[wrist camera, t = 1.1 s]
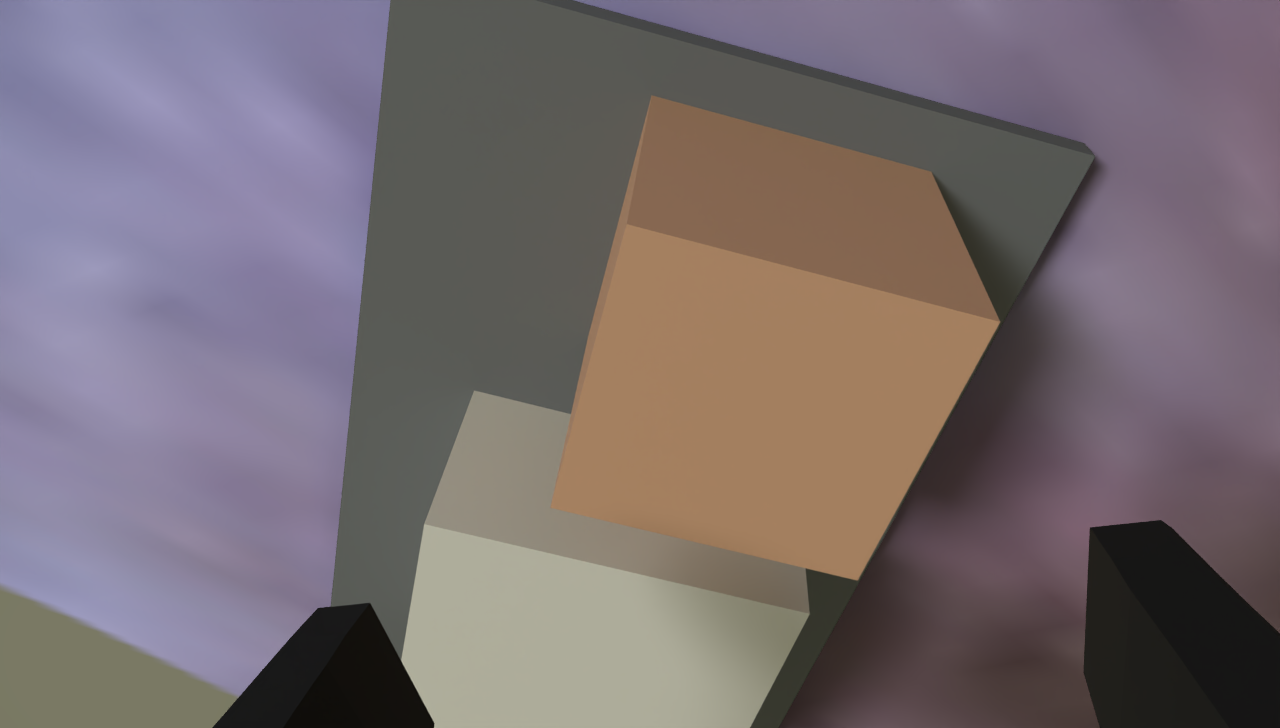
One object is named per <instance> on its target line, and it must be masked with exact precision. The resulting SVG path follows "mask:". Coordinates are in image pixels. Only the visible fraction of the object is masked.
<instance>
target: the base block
mask: <svg viewBox="0 0 1280 728" xmlns="http://www.w3.org/2000/svg"><path fill="white" fill-rule="evenodd" d="M570 416H571V414H568V413H564V412H560V411H556V410H552V409H548V408H544V407H540V406H536V405H532V404H527V403H523V402H519V401H515V400H511V399H507V398H503V397H499V396H495V395H491V394H487V393H483V392H478V391H474V392H473V395H472V398H471V400H470V403H469V406H468V408H467V411H466V414H465V416H464V419H463V422H462V424H461V427H460V430H459V432H458V435H457V438H456V440H455V443H454V446H453V448H452V451H451V454H450V456H449V459H448V462H447V464H446V467H445V470H444V472H443V475H442V478H441V481H440V483H439V486H438V489H437V491H436V494H435V497H434V499H433V502H432V505H431V507H430V510H429V513H428V515H427V518H426V521H425V523H424V528H423V534H422V540H421V546H420V552H419V558H418V564H417V570H416V576H415V582H414V587H413V593H412V599H411V605H410V611H409V617H408V623H407V629H406V635H405V641H404V647H403V653H402V658H401V661H402V663H403V665H404V667H405V669H406V671H407V673H408V675H409V676H410V678H411V680H412V682H413V684H414V686H415V688H416V690H417V691H418V693H419V695H420V697H421V699H422V701H423V703H424V705H425V706H426V708H427V710H428V712H429V714H430V716H431V718H432V720H433V721H434V728H750V727H751V725H752V723H753V721H754V719H755V717H756V715H757V713H758V711H759V710H760V708H761V706H762V704H763V702H764V700H765V698H766V696H767V694H768V692H769V691H770V689H771V687H772V685H773V683H774V681H775V679H776V677H777V675H778V673H779V672H780V670H781V668H782V666H783V664H784V662H785V660H786V658H787V656H788V654H789V653H790V651H791V649H792V647H793V645H794V643H795V641H796V639H797V637H798V635H799V634H800V632H801V630H802V628H803V626H804V624H805V622H806V620H807V618H808V616H809V614H810V611H809V601H808V590H807V580H806V569H805V568H802V567H798V566H794V565H790V564H786V563H781V562H777V561H773V560H769V559H764V558H760V557H756V556H752V555H748V554H743V553H739V552H735V551H731V550H726V549H722V548H718V547H714V546H710V545H705V544H701V543H697V542H693V541H688V540H684V539H680V538H676V537H672V536H667V535H663V534H659V533H655V532H650V531H646V530H642V529H638V528H634V527H629V526H625V525H621V524H617V523H612V522H608V521H604V520H600V519H596V518H591V517H587V516H583V515H579V514H574V513H570V512H566V511H562V510H558V509H553V508H550V507H551V502H552V498H553V493H554V489H555V484H556V480H557V475H558V470H559V466H560V461H561V457H562V452H563V448H564V443H565V439H566V434H567V430H568V425H569V421H570Z"/></svg>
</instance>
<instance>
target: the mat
mask: <svg viewBox="0 0 1280 728" xmlns="http://www.w3.org/2000/svg"><path fill="white" fill-rule="evenodd" d="M651 96H656V97H660V98H663V99H667V100H671V101H674V102H678V103H682V104H685V105H689V106H693V107H696V108H700V109H704V110H707V111H711V112H715V113H718V114H722V115H726V116H729V117H733V118H737V119H740V120H744V121H747V122H751V123H755V124H758V125H762V126H766V127H769V128H773V129H777V130H780V131H784V132H788V133H791V134H795V135H799V136H802V137H806V138H810V139H813V140H817V141H821V142H824V143H828V144H832V145H835V146H839V147H843V148H846V149H850V150H854V151H857V152H861V153H865V154H868V155H872V156H876V157H879V158H883V159H887V160H890V161H894V162H898V163H901V164H905V165H908V166H912V167H916V168H919V169H923V170H927V171H930V172H932V174H933V177H934V179H935V181H936V183H937V185H938V187H939V190H940V192H941V194H942V196H943V198H944V201H945V203H946V205H947V207H948V209H949V211H950V214H951V216H952V218H953V220H954V222H955V224H956V227H957V229H958V231H959V233H960V235H961V238H962V240H963V242H964V244H965V246H966V248H967V251H968V253H969V255H970V257H971V259H972V261H973V264H974V266H975V268H976V270H977V272H978V275H979V277H980V279H981V281H982V283H983V285H984V288H985V290H986V292H987V294H988V296H989V298H990V301H991V303H992V305H993V307H994V309H995V312H996V314H997V316H998V318H999V320H1000V323H999V325H998V327H997V329H996V331H995V332H994V334H993V336H992V338H991V340H990V342H989V343H988V345H987V347H986V349H985V351H984V352H983V354H982V356H981V358H980V360H979V361H978V363H977V365H976V367H975V369H974V371H973V372H972V374H971V376H970V378H969V380H968V381H967V383H966V385H965V387H964V389H963V390H962V392H961V394H960V396H959V398H958V400H957V401H956V403H955V405H954V407H953V409H952V410H951V412H950V414H949V416H948V418H947V419H946V421H945V423H944V425H943V427H942V429H941V430H940V432H939V434H938V436H937V438H936V439H935V441H934V443H933V445H932V447H931V448H930V450H929V452H928V454H927V456H926V458H925V459H924V461H923V463H922V465H921V467H920V468H919V470H918V472H917V474H916V476H915V477H914V479H913V481H912V483H911V485H910V487H909V488H908V490H907V492H906V494H905V496H904V497H903V499H902V501H901V503H900V505H899V506H898V508H897V510H896V512H895V514H894V515H893V517H892V519H891V521H890V523H889V525H888V526H887V528H886V530H885V532H884V534H883V535H882V537H881V539H880V541H879V543H878V544H877V546H876V548H875V550H874V552H873V554H872V555H871V557H870V559H869V561H868V563H867V564H866V566H865V568H864V570H863V572H862V573H861V575H860V577H859V579H858V581H857V580H853V579H849V578H845V577H840V576H836V575H832V574H828V573H824V572H819V571H815V570H811V569H807V568H805V569H806V580H807V590H808V601H809V611H810V614H809V616H808V618H807V620H806V622H805V624H804V626H803V628H802V630H801V632H800V634H799V635H798V637H797V639H796V641H795V643H794V645H793V647H792V649H791V651H790V653H789V654H788V656H787V658H786V660H785V662H784V664H783V666H782V668H781V670H780V672H779V673H778V675H777V677H776V679H775V681H774V683H773V685H772V687H771V689H770V691H769V692H768V694H767V696H766V698H765V700H764V702H763V704H762V706H761V708H760V710H759V711H758V713H757V715H756V717H755V719H754V721H753V723H752V725H751V727H750V728H779V726H780V724H781V722H782V721H783V719H784V717H785V715H786V713H787V712H788V710H789V708H790V706H791V704H792V703H793V701H794V699H795V697H796V695H797V694H798V692H799V690H800V688H801V686H802V685H803V683H804V681H805V679H806V677H807V676H808V674H809V672H810V670H811V668H812V666H813V665H814V663H815V661H816V659H817V657H818V656H819V654H820V652H821V650H822V648H823V647H824V645H825V643H826V641H827V639H828V638H829V636H830V634H831V632H832V630H833V629H834V627H835V625H836V623H837V621H838V620H839V618H840V616H841V614H842V612H843V611H844V609H845V607H846V605H847V603H848V602H849V600H850V598H851V596H852V594H853V593H854V591H855V589H856V587H857V585H858V583H859V582H860V580H861V578H862V576H863V574H864V573H865V571H866V569H867V567H868V565H869V564H870V562H871V560H872V558H873V556H874V555H875V553H876V551H877V549H878V547H879V546H880V544H881V542H882V540H883V538H884V537H885V535H886V533H887V531H888V529H889V528H890V526H891V524H892V522H893V520H894V519H895V517H896V515H897V513H898V511H899V509H900V508H901V506H902V504H903V502H904V500H905V499H906V497H907V495H908V493H909V491H910V490H911V488H912V486H913V484H914V482H915V481H916V479H917V477H918V475H919V473H920V472H921V470H922V468H923V466H924V464H925V463H926V461H927V459H928V457H929V455H930V454H931V452H932V450H933V448H934V446H935V445H936V443H937V441H938V439H939V437H940V436H941V434H942V432H943V430H944V428H945V426H946V425H947V423H948V421H949V419H950V417H951V416H952V414H953V412H954V410H955V408H956V407H957V405H958V403H959V401H960V399H961V398H962V396H963V394H964V392H965V390H966V389H967V387H968V385H969V383H970V381H971V380H972V378H973V376H974V374H975V372H976V371H977V369H978V367H979V365H980V363H981V362H982V360H983V358H984V356H985V354H986V352H987V351H988V349H989V347H990V345H991V343H992V342H993V340H994V338H995V336H996V334H997V333H998V331H999V329H1000V327H1001V325H1002V324H1003V322H1004V320H1005V318H1006V316H1007V315H1008V313H1009V311H1010V309H1011V307H1012V306H1013V304H1014V302H1015V300H1016V298H1017V297H1018V295H1019V293H1020V291H1021V289H1022V288H1023V286H1024V284H1025V282H1026V280H1027V278H1028V277H1029V275H1030V273H1031V271H1032V269H1033V268H1034V266H1035V264H1036V262H1037V260H1038V259H1039V257H1040V255H1041V253H1042V251H1043V250H1044V248H1045V246H1046V244H1047V242H1048V241H1049V239H1050V237H1051V235H1052V233H1053V232H1054V230H1055V228H1056V226H1057V224H1058V223H1059V221H1060V219H1061V217H1062V215H1063V214H1064V212H1065V210H1066V208H1067V206H1068V205H1069V203H1070V201H1071V199H1072V197H1073V195H1074V194H1075V192H1076V190H1077V188H1078V186H1079V185H1080V183H1081V181H1082V179H1083V177H1084V176H1085V174H1086V172H1087V170H1088V168H1089V167H1090V165H1091V163H1092V161H1093V159H1094V158H1095V155H1094V154H1093V153H1092V152H1091V151H1090V149H1089V148H1088V147H1087V146H1086V145H1085V144H1084V143H1081V142H1078V141H1074V140H1071V139H1067V138H1064V137H1060V136H1056V135H1053V134H1049V133H1046V132H1042V131H1039V130H1035V129H1031V128H1028V127H1024V126H1021V125H1017V124H1013V123H1010V122H1006V121H1003V120H999V119H996V118H992V117H988V116H985V115H981V114H978V113H974V112H970V111H967V110H963V109H960V108H956V107H953V106H949V105H945V104H942V103H938V102H935V101H931V100H928V99H924V98H920V97H917V96H913V95H910V94H906V93H902V92H899V91H895V90H892V89H888V88H885V87H881V86H877V85H874V84H870V83H867V82H863V81H860V80H856V79H852V78H849V77H845V76H842V75H838V74H834V73H831V72H827V71H824V70H820V69H817V68H813V67H809V66H806V65H802V64H799V63H795V62H792V61H788V60H784V59H781V58H777V57H774V56H770V55H766V54H763V53H759V52H756V51H752V50H749V49H745V48H741V47H738V46H734V45H731V44H727V43H724V42H720V41H716V40H713V39H709V38H706V37H702V36H698V35H695V34H691V33H688V32H684V31H681V30H677V29H673V28H670V27H666V26H663V25H659V24H656V23H652V22H648V21H645V20H641V19H638V18H634V17H630V16H627V15H623V14H620V13H616V12H613V11H609V10H605V9H602V8H598V7H595V6H591V5H588V4H584V3H580V2H577V1H573V0H391V1H390V11H389V21H388V32H387V42H386V52H385V62H384V72H383V82H382V92H381V103H380V113H379V123H378V133H377V143H376V153H375V163H374V173H373V184H372V194H371V204H370V214H369V224H368V234H367V244H366V255H365V265H364V275H363V285H362V295H361V305H360V315H359V325H358V336H357V346H356V356H355V366H354V376H353V386H352V396H351V407H350V417H349V427H348V437H347V447H346V457H345V467H344V477H343V488H342V498H341V508H340V518H339V528H338V538H337V548H336V559H335V569H334V579H333V589H332V599H331V607H334V606H343V605H353V604H363V603H371V605H372V607H373V609H374V611H375V613H376V615H377V616H378V618H379V620H380V622H381V624H382V626H383V628H384V630H385V631H386V633H387V635H388V637H389V639H390V641H391V643H392V645H393V646H394V648H395V650H396V652H397V654H398V656H399V658H400V660H401V658H402V653H403V647H404V641H405V635H406V629H407V623H408V617H409V611H410V605H411V599H412V593H413V587H414V582H415V576H416V570H417V564H418V558H419V552H420V546H421V540H422V534H423V528H424V523H425V521H426V518H427V515H428V513H429V510H430V507H431V505H432V502H433V499H434V497H435V494H436V491H437V489H438V486H439V483H440V481H441V478H442V475H443V472H444V470H445V467H446V464H447V462H448V459H449V456H450V454H451V451H452V448H453V446H454V443H455V440H456V438H457V435H458V432H459V430H460V427H461V424H462V422H463V419H464V416H465V414H466V411H467V408H468V406H469V403H470V400H471V398H472V395H473V392H474V391H478V392H483V393H487V394H491V395H495V396H499V397H503V398H507V399H511V400H515V401H519V402H523V403H527V404H532V405H536V406H540V407H544V408H548V409H552V410H556V411H560V412H564V413H568V414H571V412H572V407H573V403H574V398H575V394H576V389H577V385H578V380H579V376H580V371H581V367H582V362H583V358H584V353H585V349H586V344H587V339H588V335H589V331H590V328H591V324H592V320H593V316H594V312H595V309H596V305H597V301H598V297H599V293H600V290H601V286H602V282H603V278H604V274H605V271H606V267H607V263H608V259H609V255H610V252H611V248H612V244H613V240H614V236H615V233H616V229H617V225H618V221H619V217H620V214H621V210H622V206H623V202H624V198H625V195H626V191H627V187H628V183H629V179H630V176H631V172H632V168H633V164H634V160H635V157H636V153H637V149H638V145H639V141H640V138H641V134H642V130H643V126H644V123H645V119H646V115H647V111H648V107H649V104H650V100H651Z"/></svg>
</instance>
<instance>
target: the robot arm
mask: <svg viewBox="0 0 1280 728" xmlns="http://www.w3.org/2000/svg"><path fill="white" fill-rule="evenodd" d="M1084 675H1085V679H1086V682H1087V685H1088V689H1089V692H1090V696H1091V699H1092V702H1093V706H1094V709H1095V712H1096V716H1097V719H1098V723H1099V726H1100V728H1280V633H1279V632H1278V631H1276V630H1275V629H1274V628H1273V627H1272V626H1271V625H1270V624H1269V623H1268V622H1267V621H1266V620H1265V619H1264V618H1263V617H1262V616H1261V615H1260V614H1259V613H1258V612H1256V611H1255V610H1254V609H1253V608H1252V607H1251V606H1250V605H1249V604H1248V603H1247V602H1246V601H1245V600H1244V599H1243V598H1242V597H1241V596H1240V595H1239V594H1238V593H1237V592H1236V591H1235V590H1234V589H1233V588H1232V587H1231V586H1230V585H1229V584H1228V583H1227V582H1226V581H1224V580H1223V579H1222V578H1221V577H1220V576H1219V575H1218V574H1217V573H1216V572H1215V571H1214V570H1213V569H1212V568H1211V567H1210V566H1209V565H1208V564H1207V563H1206V562H1205V561H1204V560H1203V559H1202V558H1201V557H1200V556H1199V555H1198V554H1197V553H1196V552H1195V551H1194V550H1193V549H1192V548H1191V547H1190V546H1189V545H1188V544H1187V543H1186V542H1185V541H1184V540H1183V539H1182V538H1181V537H1180V536H1179V535H1178V534H1177V533H1176V532H1175V531H1174V529H1172V528H1171V527H1170V526H1168V525H1167V524H1165V523H1164V522H1163V521H1161V520H1158V521H1148V522H1139V523H1129V524H1120V525H1110V526H1101V527H1091V528H1090V537H1089V560H1088V583H1087V606H1086V629H1085V652H1084ZM213 728H434V721H433V720H432V718H431V716H430V714H429V712H428V710H427V708H426V706H425V705H424V703H423V701H422V699H421V697H420V695H419V693H418V691H417V690H416V688H415V686H414V684H413V682H412V680H411V678H410V676H409V675H408V673H407V671H406V669H405V667H404V665H403V663H402V661H401V660H400V658H399V656H398V654H397V652H396V650H395V648H394V646H393V645H392V643H391V641H390V639H389V637H388V635H387V633H386V631H385V630H384V628H383V626H382V624H381V622H380V620H379V618H378V616H377V615H376V613H375V611H374V609H373V607H372V605H371V603H363V604H353V605H343V606H334V607H324V608H318V609H317V610H316V611H315V612H314V613H313V614H312V615H311V616H310V617H309V618H308V619H307V620H306V622H305V623H304V624H303V625H302V626H301V627H300V628H299V629H298V630H297V631H296V632H295V634H294V635H293V636H292V637H291V638H290V639H289V640H288V641H287V643H286V644H285V645H284V646H283V647H282V648H281V649H280V651H279V652H278V653H277V654H276V655H275V656H274V657H273V659H272V660H271V661H270V662H269V663H268V664H267V665H266V667H265V668H264V669H263V670H262V671H261V672H260V674H259V675H258V676H257V677H256V678H255V679H254V680H253V682H252V683H251V684H250V685H249V686H248V687H247V689H246V690H245V691H244V692H243V693H242V694H241V695H240V697H239V698H238V699H237V700H236V701H235V702H234V704H233V705H232V706H231V707H230V708H229V709H228V711H227V712H226V713H225V714H224V715H223V716H222V717H221V719H220V720H219V721H218V722H217V723H216V724H215V725H214V727H213Z"/></svg>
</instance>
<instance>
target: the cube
mask: <svg viewBox="0 0 1280 728" xmlns="http://www.w3.org/2000/svg"><path fill="white" fill-rule="evenodd" d="M999 323H1000V320H999V318H998V316H997V314H996V312H995V309H994V307H993V305H992V303H991V301H990V298H989V296H988V294H987V292H986V290H985V288H984V285H983V283H982V281H981V279H980V277H979V275H978V272H977V270H976V268H975V266H974V264H973V261H972V259H971V257H970V255H969V253H968V251H967V248H966V246H965V244H964V242H963V240H962V238H961V235H960V233H959V231H958V229H957V227H956V224H955V222H954V220H953V218H952V216H951V214H950V211H949V209H948V207H947V205H946V203H945V201H944V198H943V196H942V194H941V192H940V190H939V187H938V185H937V183H936V181H935V179H934V177H933V174H932V172H930V171H927V170H923V169H919V168H916V167H912V166H908V165H905V164H901V163H898V162H894V161H890V160H887V159H883V158H879V157H876V156H872V155H868V154H865V153H861V152H857V151H854V150H850V149H846V148H843V147H839V146H835V145H832V144H828V143H824V142H821V141H817V140H813V139H810V138H806V137H802V136H799V135H795V134H791V133H788V132H784V131H780V130H777V129H773V128H769V127H766V126H762V125H758V124H755V123H751V122H747V121H744V120H740V119H737V118H733V117H729V116H726V115H722V114H718V113H715V112H711V111H707V110H704V109H700V108H696V107H693V106H689V105H685V104H682V103H678V102H674V101H671V100H667V99H663V98H660V97H656V96H651V100H650V104H649V107H648V111H647V115H646V119H645V123H644V126H643V130H642V134H641V138H640V141H639V145H638V149H637V153H636V157H635V160H634V164H633V168H632V172H631V176H630V179H629V183H628V187H627V191H626V195H625V198H624V202H623V206H622V210H621V214H620V217H619V221H618V225H617V229H616V233H615V236H614V240H613V244H612V248H611V252H610V255H609V259H608V263H607V267H606V271H605V274H604V278H603V282H602V286H601V290H600V293H599V297H598V301H597V305H596V309H595V312H594V316H593V320H592V324H591V328H590V331H589V335H588V339H587V344H586V349H585V353H584V358H583V362H582V367H581V371H580V376H579V380H578V385H577V389H576V394H575V398H574V403H573V407H572V412H571V416H570V421H569V425H568V430H567V434H566V439H565V443H564V448H563V452H562V457H561V461H560V466H559V470H558V475H557V480H556V484H555V489H554V493H553V498H552V502H551V507H550V508H553V509H558V510H562V511H566V512H570V513H574V514H579V515H583V516H587V517H591V518H596V519H600V520H604V521H608V522H612V523H617V524H621V525H625V526H629V527H634V528H638V529H642V530H646V531H650V532H655V533H659V534H663V535H667V536H672V537H676V538H680V539H684V540H688V541H693V542H697V543H701V544H705V545H710V546H714V547H718V548H722V549H726V550H731V551H735V552H739V553H743V554H748V555H752V556H756V557H760V558H764V559H769V560H773V561H777V562H781V563H786V564H790V565H794V566H798V567H802V568H807V569H811V570H815V571H819V572H824V573H828V574H832V575H836V576H840V577H845V578H849V579H853V580H857V581H858V579H859V577H860V575H861V573H862V572H863V570H864V568H865V566H866V564H867V563H868V561H869V559H870V557H871V555H872V554H873V552H874V550H875V548H876V546H877V544H878V543H879V541H880V539H881V537H882V535H883V534H884V532H885V530H886V528H887V526H888V525H889V523H890V521H891V519H892V517H893V515H894V514H895V512H896V510H897V508H898V506H899V505H900V503H901V501H902V499H903V497H904V496H905V494H906V492H907V490H908V488H909V487H910V485H911V483H912V481H913V479H914V477H915V476H916V474H917V472H918V470H919V468H920V467H921V465H922V463H923V461H924V459H925V458H926V456H927V454H928V452H929V450H930V448H931V447H932V445H933V443H934V441H935V439H936V438H937V436H938V434H939V432H940V430H941V429H942V427H943V425H944V423H945V421H946V419H947V418H948V416H949V414H950V412H951V410H952V409H953V407H954V405H955V403H956V401H957V400H958V398H959V396H960V394H961V392H962V390H963V389H964V387H965V385H966V383H967V381H968V380H969V378H970V376H971V374H972V372H973V371H974V369H975V367H976V365H977V363H978V361H979V360H980V358H981V356H982V354H983V352H984V351H985V349H986V347H987V345H988V343H989V342H990V340H991V338H992V336H993V334H994V332H995V331H996V329H997V327H998V325H999Z"/></svg>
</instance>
